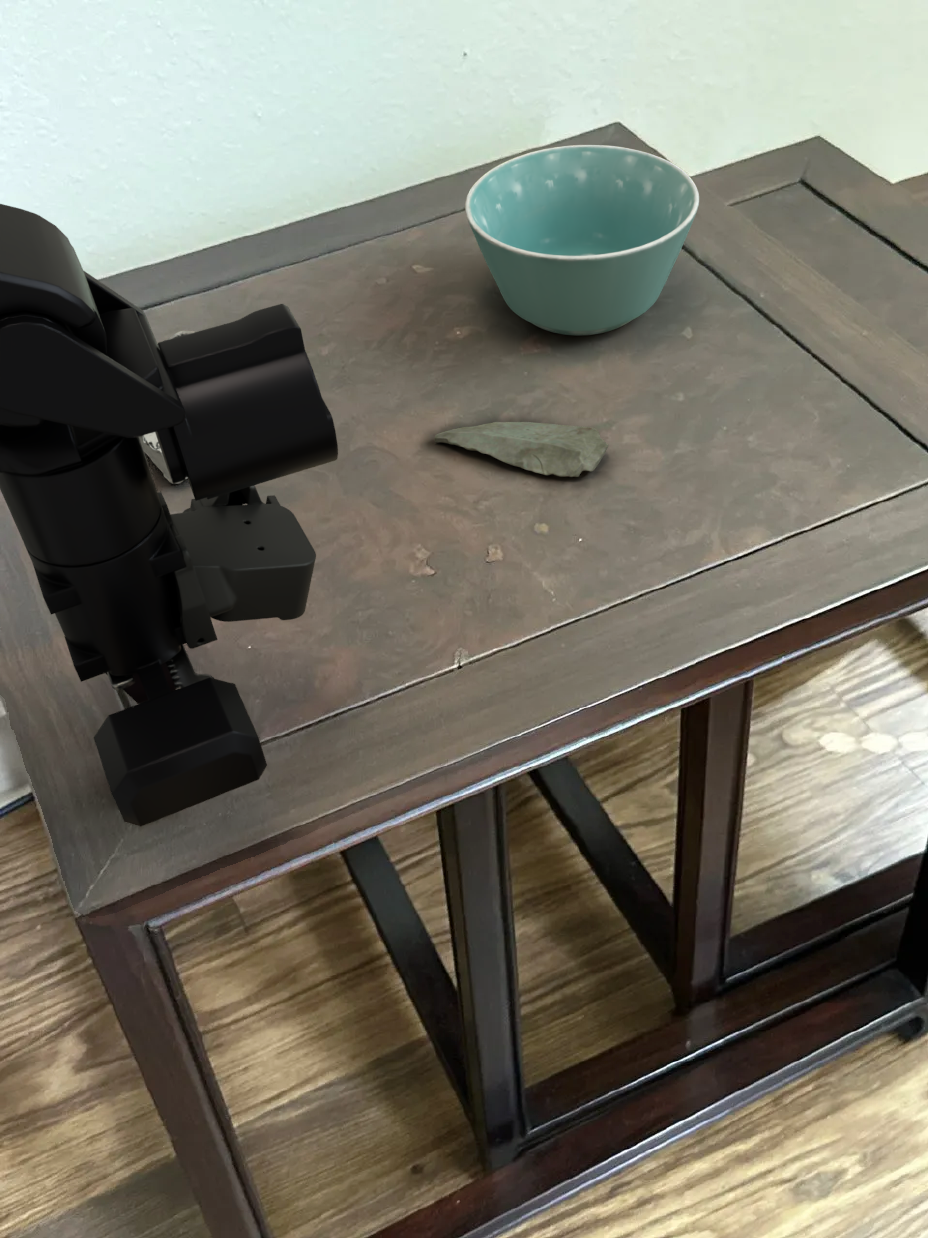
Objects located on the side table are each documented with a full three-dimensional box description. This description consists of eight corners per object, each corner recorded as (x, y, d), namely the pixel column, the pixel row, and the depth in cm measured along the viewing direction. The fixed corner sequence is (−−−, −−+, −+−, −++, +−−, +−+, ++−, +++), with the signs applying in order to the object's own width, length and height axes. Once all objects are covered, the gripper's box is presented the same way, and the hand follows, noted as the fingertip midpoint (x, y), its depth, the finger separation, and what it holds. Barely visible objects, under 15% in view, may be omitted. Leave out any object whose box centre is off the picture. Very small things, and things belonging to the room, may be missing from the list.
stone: (424, 441, 80) (456, 393, 83) (428, 460, 81) (459, 412, 84) (590, 469, 76) (617, 417, 79) (592, 489, 77) (618, 437, 80)
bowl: (735, 283, 91) (743, 175, 86) (610, 391, 84) (610, 279, 78) (560, 228, 99) (556, 125, 93) (430, 321, 91) (418, 215, 85)
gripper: (354, 591, 48) (402, 831, 59) (215, 352, 60) (276, 587, 71) (65, 697, 45) (172, 928, 56) (-19, 425, 58) (82, 658, 69)
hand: (182, 756), depth 63 cm, fingers open, 6 cm apart
